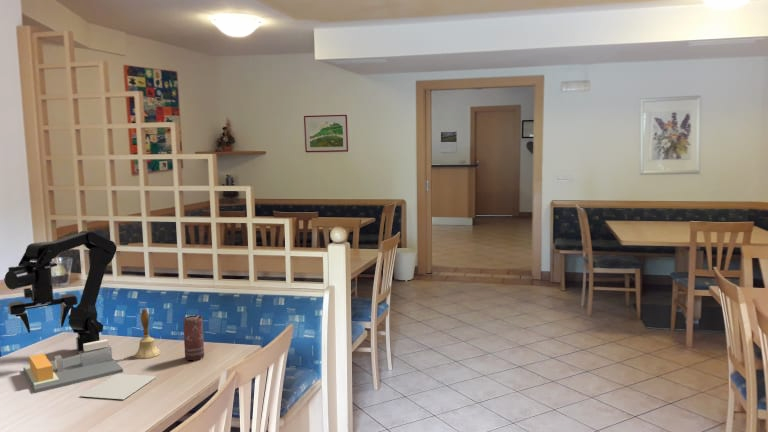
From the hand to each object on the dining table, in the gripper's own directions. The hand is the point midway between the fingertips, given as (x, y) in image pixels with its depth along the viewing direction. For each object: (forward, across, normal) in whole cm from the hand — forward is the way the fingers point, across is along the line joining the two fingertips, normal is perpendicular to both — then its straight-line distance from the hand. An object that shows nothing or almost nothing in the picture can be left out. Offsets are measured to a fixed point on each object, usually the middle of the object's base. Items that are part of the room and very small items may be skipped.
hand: (45, 329), depth 187 cm
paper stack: (+13, -13, +40) cm, 44 cm away
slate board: (+12, -5, +11) cm, 17 cm away
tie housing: (+11, -9, +10) cm, 17 cm away
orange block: (+11, +4, +10) cm, 15 cm away
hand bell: (+12, -28, +11) cm, 33 cm away
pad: (+12, +4, +10) cm, 16 cm away
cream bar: (+6, -12, +10) cm, 17 cm away
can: (+12, -39, +25) cm, 48 cm away
